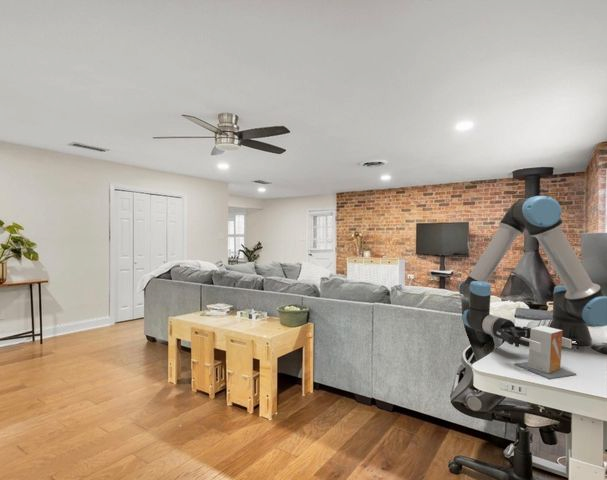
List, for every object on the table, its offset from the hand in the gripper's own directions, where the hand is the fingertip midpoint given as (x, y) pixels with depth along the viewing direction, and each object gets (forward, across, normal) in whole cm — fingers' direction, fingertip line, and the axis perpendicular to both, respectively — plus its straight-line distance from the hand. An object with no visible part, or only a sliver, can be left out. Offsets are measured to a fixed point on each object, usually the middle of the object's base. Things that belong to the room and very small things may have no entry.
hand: (555, 345), depth 112 cm
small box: (-3, 0, -9) cm, 9 cm away
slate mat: (-3, 0, -9) cm, 10 cm away
